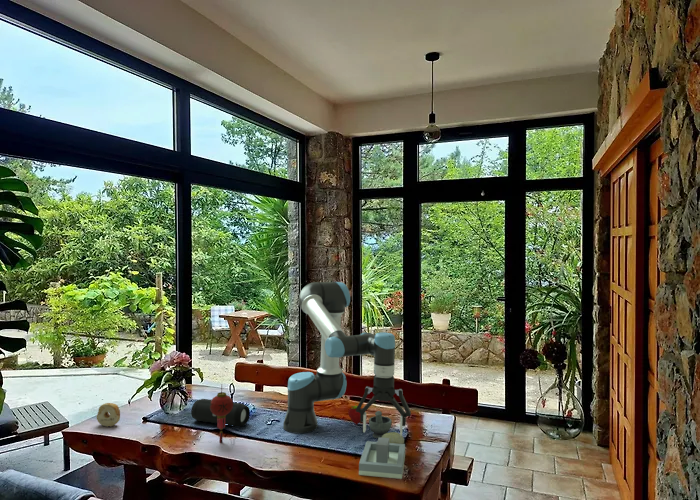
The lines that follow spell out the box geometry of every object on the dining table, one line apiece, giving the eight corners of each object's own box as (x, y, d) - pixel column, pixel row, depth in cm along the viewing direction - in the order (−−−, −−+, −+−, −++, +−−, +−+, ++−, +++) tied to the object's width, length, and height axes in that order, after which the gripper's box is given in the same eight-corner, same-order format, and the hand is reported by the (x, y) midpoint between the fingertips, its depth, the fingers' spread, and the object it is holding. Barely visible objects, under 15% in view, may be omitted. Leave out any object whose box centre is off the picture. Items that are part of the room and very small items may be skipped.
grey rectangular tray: (358, 474, 163) (359, 463, 163) (366, 451, 183) (366, 441, 183) (401, 478, 161) (402, 467, 161) (405, 454, 180) (405, 444, 180)
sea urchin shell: (377, 436, 194) (390, 422, 194) (390, 449, 194) (404, 435, 194) (380, 445, 184) (394, 430, 185) (394, 459, 185) (408, 444, 185)
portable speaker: (189, 423, 211) (190, 401, 211) (203, 416, 221) (203, 395, 221) (239, 430, 203) (239, 407, 203) (250, 423, 213) (251, 401, 213)
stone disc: (122, 424, 209) (122, 402, 209) (116, 427, 205) (116, 405, 205) (101, 423, 210) (101, 400, 211) (95, 426, 207) (96, 403, 207)
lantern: (207, 439, 193) (208, 367, 193) (230, 436, 196) (231, 365, 197) (210, 448, 184) (211, 372, 184) (234, 445, 188) (235, 370, 188)
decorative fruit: (363, 427, 208) (363, 405, 208) (346, 426, 210) (346, 403, 210) (365, 423, 214) (366, 401, 214) (349, 421, 216) (350, 399, 216)
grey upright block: (376, 464, 168) (376, 444, 169) (378, 455, 175) (378, 437, 175) (387, 465, 168) (387, 445, 168) (389, 456, 175) (389, 438, 175)
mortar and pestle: (371, 430, 205) (371, 403, 205) (392, 432, 203) (392, 405, 203) (366, 440, 194) (366, 411, 194) (389, 442, 192) (389, 413, 192)
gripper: (349, 375, 171) (347, 433, 171) (417, 380, 166) (416, 439, 167) (352, 370, 178) (351, 425, 178) (418, 374, 174) (417, 431, 174)
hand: (382, 432), depth 172 cm, fingers open, 13 cm apart
